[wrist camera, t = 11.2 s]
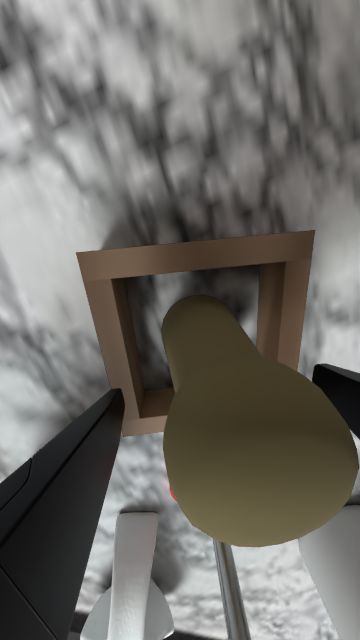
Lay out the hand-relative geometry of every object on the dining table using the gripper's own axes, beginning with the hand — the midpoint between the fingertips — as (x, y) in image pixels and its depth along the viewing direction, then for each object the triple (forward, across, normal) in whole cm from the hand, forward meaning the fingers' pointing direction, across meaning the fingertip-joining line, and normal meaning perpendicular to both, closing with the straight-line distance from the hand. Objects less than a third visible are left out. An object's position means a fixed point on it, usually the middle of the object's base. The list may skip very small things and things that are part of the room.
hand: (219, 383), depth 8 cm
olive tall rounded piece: (+7, 0, 0) cm, 7 cm away
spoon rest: (+7, +11, +33) cm, 36 cm away
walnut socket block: (+6, 0, 0) cm, 6 cm away
